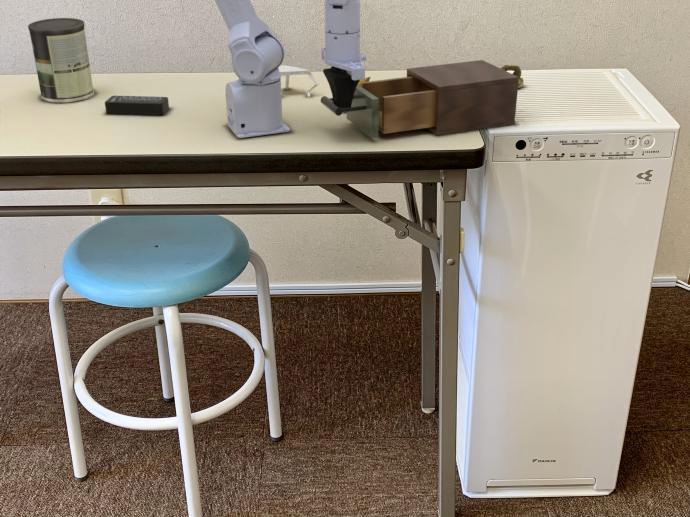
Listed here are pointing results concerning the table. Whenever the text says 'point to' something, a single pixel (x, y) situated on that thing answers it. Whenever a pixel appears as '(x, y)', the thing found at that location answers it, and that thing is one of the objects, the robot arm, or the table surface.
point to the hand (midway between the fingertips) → (342, 111)
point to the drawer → (389, 106)
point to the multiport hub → (137, 105)
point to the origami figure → (295, 71)
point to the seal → (515, 73)
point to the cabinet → (470, 95)
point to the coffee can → (61, 59)
